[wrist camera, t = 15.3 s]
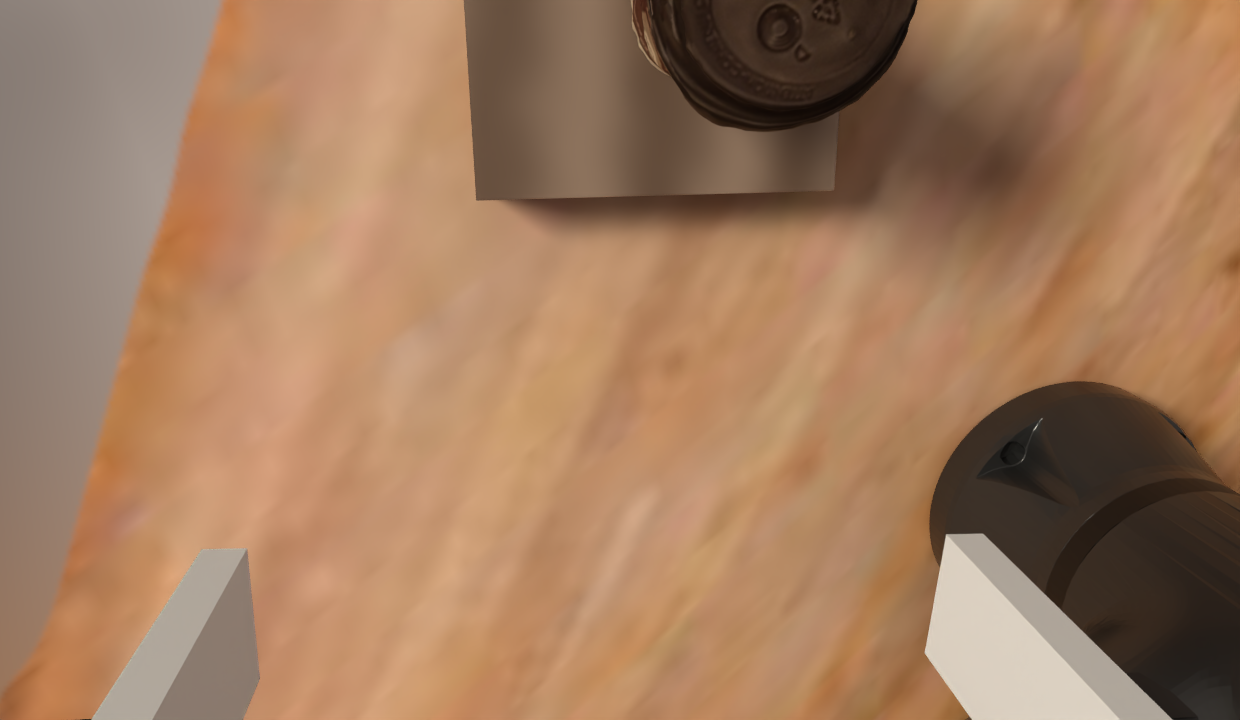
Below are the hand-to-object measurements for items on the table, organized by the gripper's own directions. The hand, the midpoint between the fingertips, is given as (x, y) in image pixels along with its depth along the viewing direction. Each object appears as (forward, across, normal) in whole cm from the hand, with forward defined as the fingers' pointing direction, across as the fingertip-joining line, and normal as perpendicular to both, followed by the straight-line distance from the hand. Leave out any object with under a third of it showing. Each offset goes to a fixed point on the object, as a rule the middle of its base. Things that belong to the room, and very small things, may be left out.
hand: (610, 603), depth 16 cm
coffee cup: (+24, -6, -12) cm, 28 cm away
